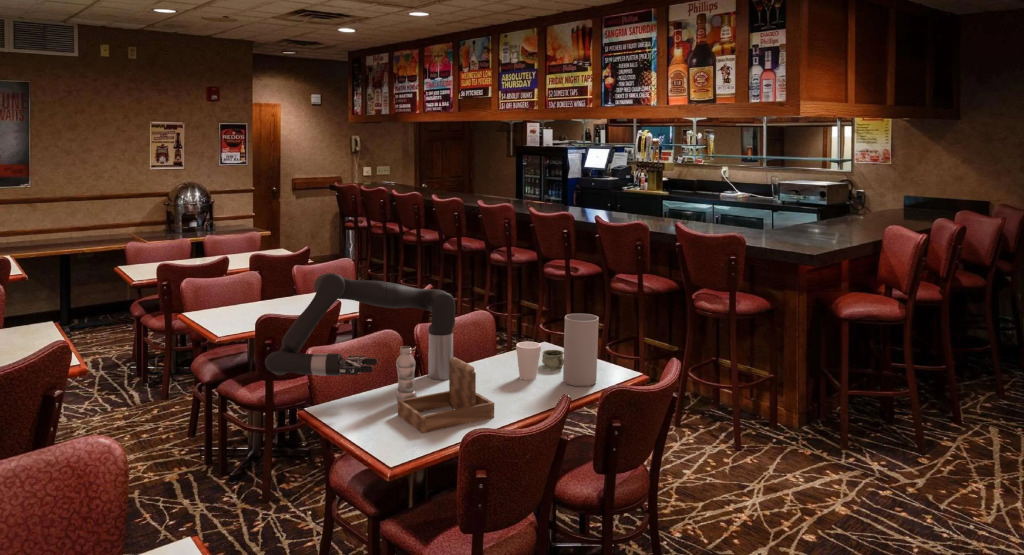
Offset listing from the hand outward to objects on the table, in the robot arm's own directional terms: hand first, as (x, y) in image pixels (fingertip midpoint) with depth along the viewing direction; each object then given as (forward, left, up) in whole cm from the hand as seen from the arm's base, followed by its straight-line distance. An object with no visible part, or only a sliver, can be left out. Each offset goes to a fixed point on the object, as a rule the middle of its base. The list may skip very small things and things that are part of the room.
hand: (374, 365), depth 254 cm
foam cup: (+3, +61, -14) cm, 63 cm away
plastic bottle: (+6, +9, -14) cm, 17 cm away
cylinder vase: (+17, +75, -14) cm, 78 cm away
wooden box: (+23, +15, -14) cm, 31 cm away
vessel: (-3, +77, -14) cm, 78 cm away
